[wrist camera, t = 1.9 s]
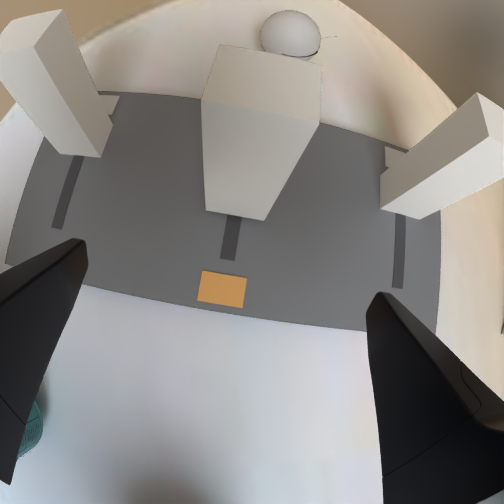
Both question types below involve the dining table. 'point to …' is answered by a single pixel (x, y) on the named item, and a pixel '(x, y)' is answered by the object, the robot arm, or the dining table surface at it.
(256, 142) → the block
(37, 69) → the three pillar stand
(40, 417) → the beverage bottle
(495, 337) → the dining table surface
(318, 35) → the white sphere
